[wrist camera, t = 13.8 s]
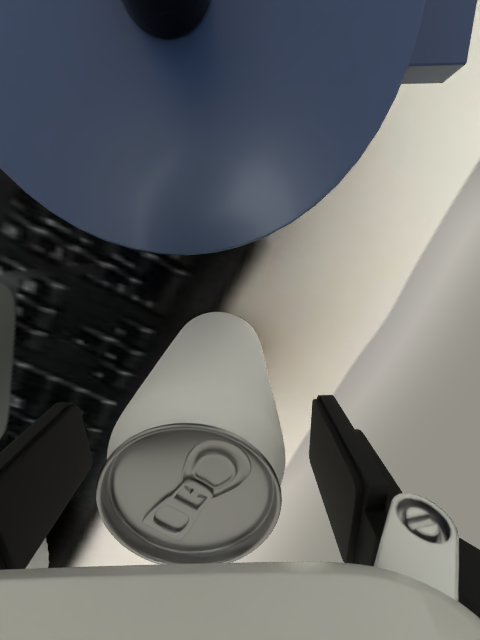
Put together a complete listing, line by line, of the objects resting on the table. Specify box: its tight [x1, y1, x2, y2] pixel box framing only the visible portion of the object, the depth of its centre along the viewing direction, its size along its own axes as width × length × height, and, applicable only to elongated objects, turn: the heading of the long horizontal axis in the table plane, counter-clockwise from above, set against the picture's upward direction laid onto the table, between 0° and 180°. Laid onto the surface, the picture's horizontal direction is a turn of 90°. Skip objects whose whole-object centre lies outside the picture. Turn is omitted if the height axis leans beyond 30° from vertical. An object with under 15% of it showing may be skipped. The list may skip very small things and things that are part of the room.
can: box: [96, 312, 285, 565], centre depth 14 cm, size 6×6×12 cm
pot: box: [401, 0, 477, 84], centre depth 11 cm, size 12×18×9 cm
